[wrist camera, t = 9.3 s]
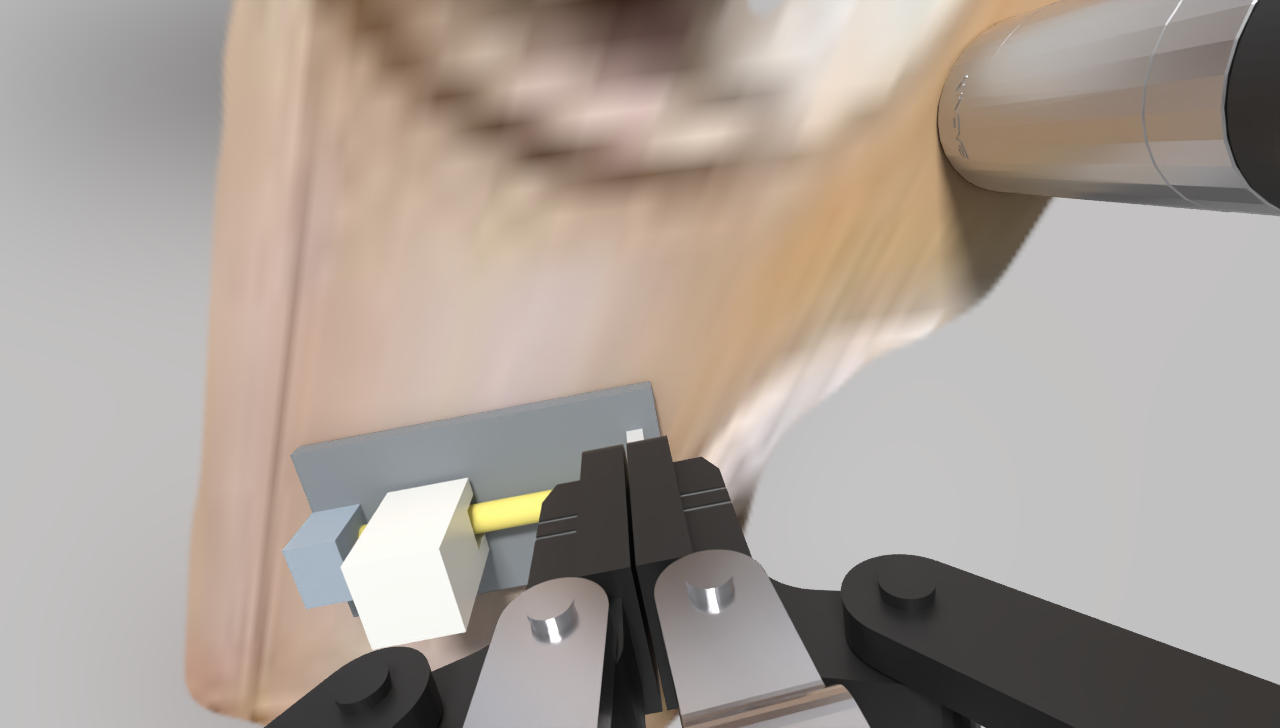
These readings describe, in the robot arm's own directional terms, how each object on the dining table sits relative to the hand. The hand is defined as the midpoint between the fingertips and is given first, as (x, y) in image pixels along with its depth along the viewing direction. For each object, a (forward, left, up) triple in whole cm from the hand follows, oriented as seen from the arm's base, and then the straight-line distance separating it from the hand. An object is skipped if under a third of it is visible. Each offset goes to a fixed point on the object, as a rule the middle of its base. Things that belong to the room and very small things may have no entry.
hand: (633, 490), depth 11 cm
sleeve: (+14, +14, -25) cm, 32 cm away
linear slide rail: (+10, +14, -27) cm, 32 cm away
